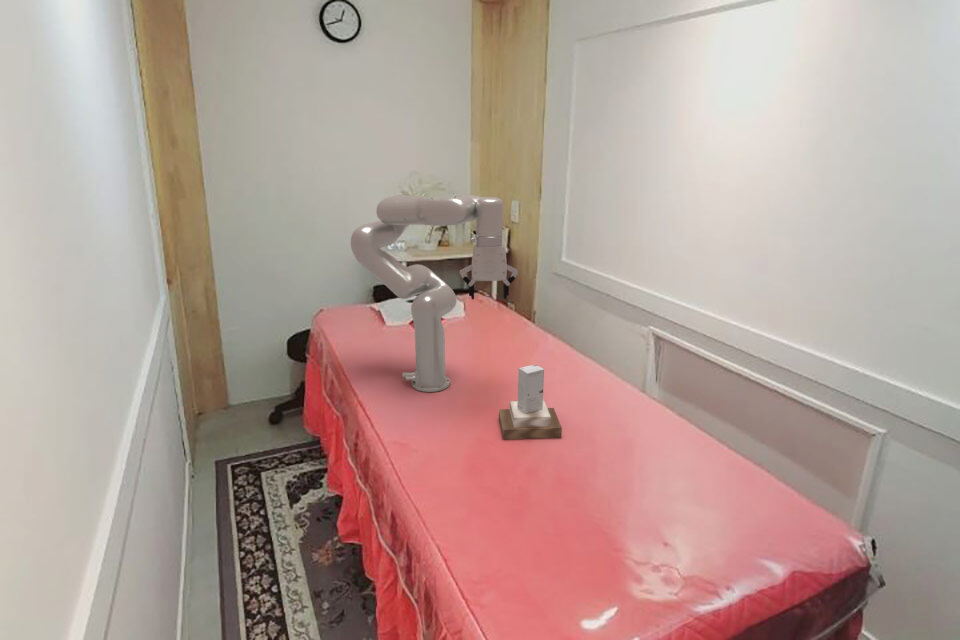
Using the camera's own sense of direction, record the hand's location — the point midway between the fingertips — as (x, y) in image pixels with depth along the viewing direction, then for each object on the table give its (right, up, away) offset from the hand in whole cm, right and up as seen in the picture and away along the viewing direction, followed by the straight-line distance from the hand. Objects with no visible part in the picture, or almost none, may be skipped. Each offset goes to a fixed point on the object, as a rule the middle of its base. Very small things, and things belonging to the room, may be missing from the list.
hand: (488, 298), depth 174 cm
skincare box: (+11, -31, -11) cm, 35 cm away
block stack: (+11, -37, -9) cm, 40 cm away
